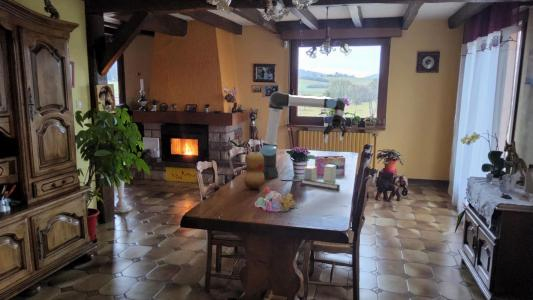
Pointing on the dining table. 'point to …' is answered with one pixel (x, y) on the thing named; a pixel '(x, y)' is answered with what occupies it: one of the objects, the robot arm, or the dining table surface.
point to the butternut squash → (254, 170)
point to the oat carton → (310, 173)
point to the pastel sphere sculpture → (275, 201)
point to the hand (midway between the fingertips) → (333, 141)
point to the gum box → (332, 160)
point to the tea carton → (330, 173)
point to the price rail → (320, 184)
